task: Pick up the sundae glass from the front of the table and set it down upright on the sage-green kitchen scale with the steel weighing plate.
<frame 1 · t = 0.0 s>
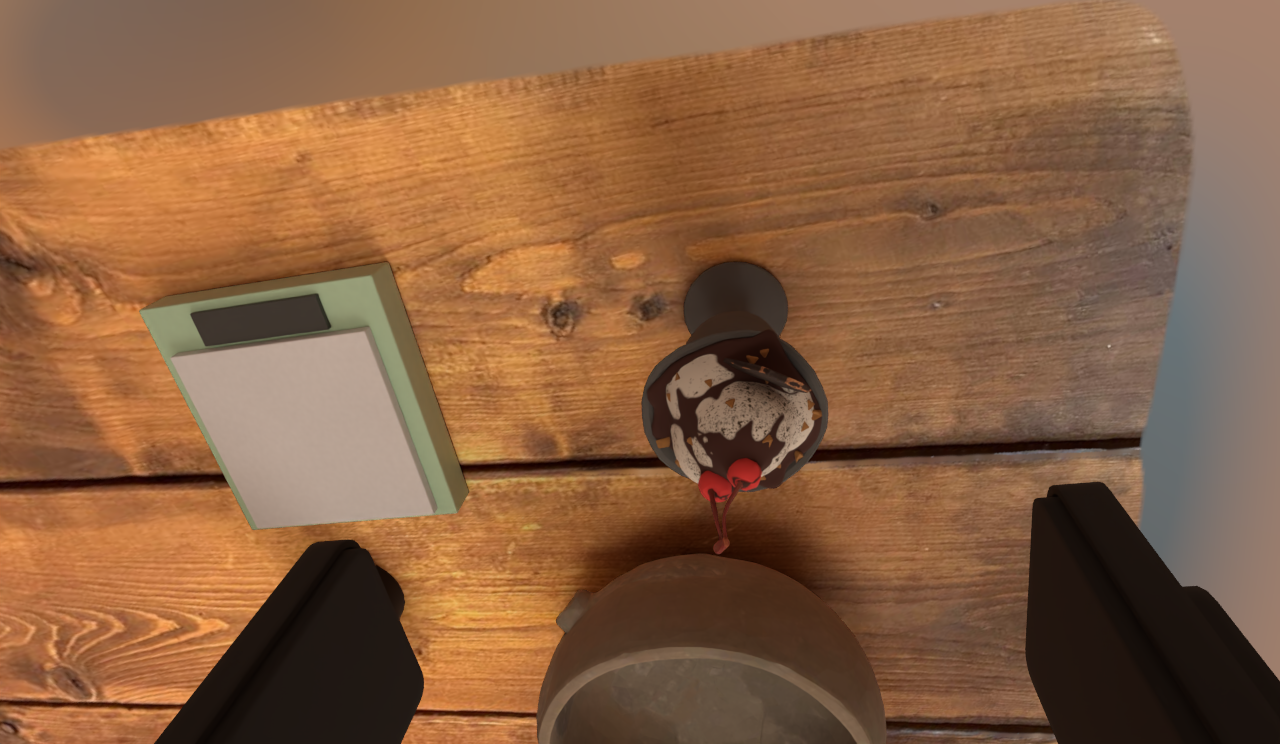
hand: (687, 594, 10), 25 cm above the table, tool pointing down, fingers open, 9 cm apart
scale: (323, 398, 41), on the table
bowl: (713, 620, 45), on the table
cup: (364, 591, 47), on the table
sundae: (735, 309, 36), on the table
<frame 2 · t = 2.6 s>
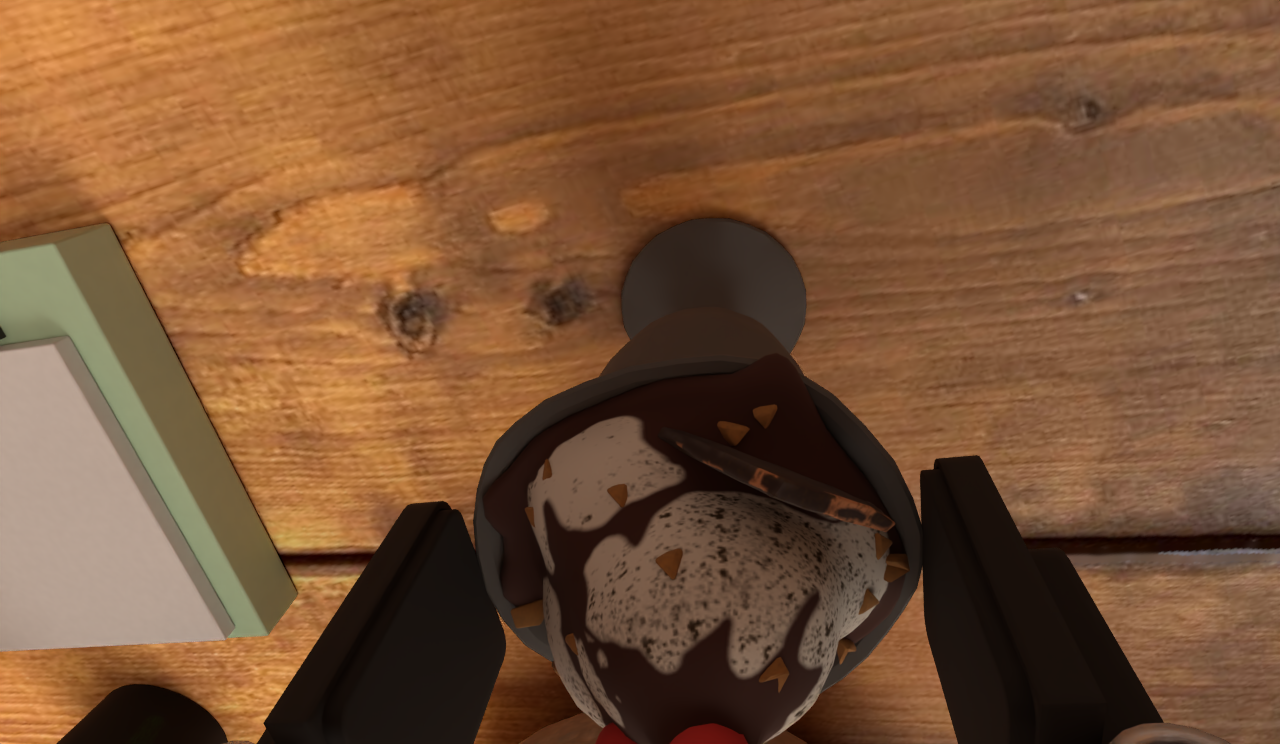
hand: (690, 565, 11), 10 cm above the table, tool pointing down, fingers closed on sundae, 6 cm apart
scale: (51, 450, 25), on the table
cup: (169, 725, 32), on the table
sundae: (713, 306, 20), on the table, touching gripper
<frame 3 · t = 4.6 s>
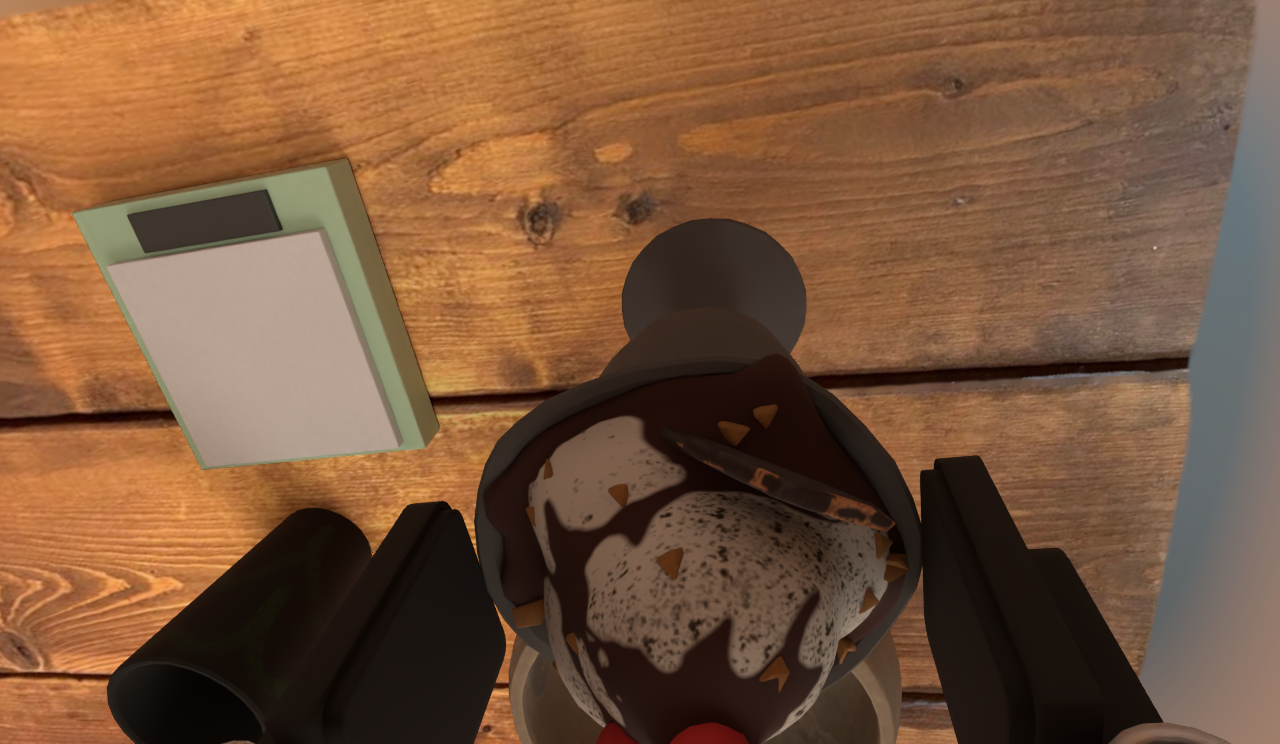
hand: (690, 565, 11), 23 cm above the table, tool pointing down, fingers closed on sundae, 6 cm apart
scale: (279, 320, 37), on the table
bowl: (708, 576, 41), on the table
cup: (327, 544, 43), on the table
sundae: (713, 306, 20), point 13 cm above the table, touching gripper
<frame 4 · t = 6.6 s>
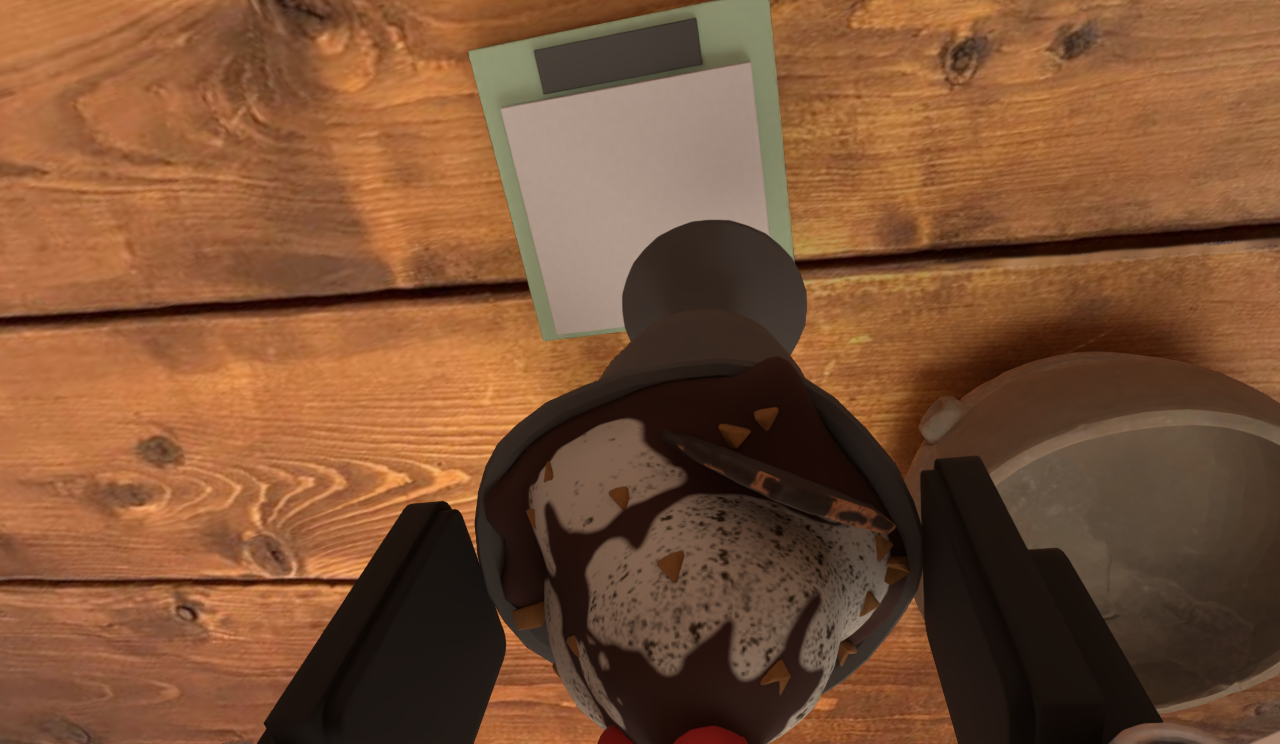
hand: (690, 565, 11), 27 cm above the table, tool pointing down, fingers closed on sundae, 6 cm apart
scale: (646, 178, 36), on the table
bowl: (1049, 454, 40), on the table
sundae: (714, 307, 20), point 17 cm above the table, touching gripper
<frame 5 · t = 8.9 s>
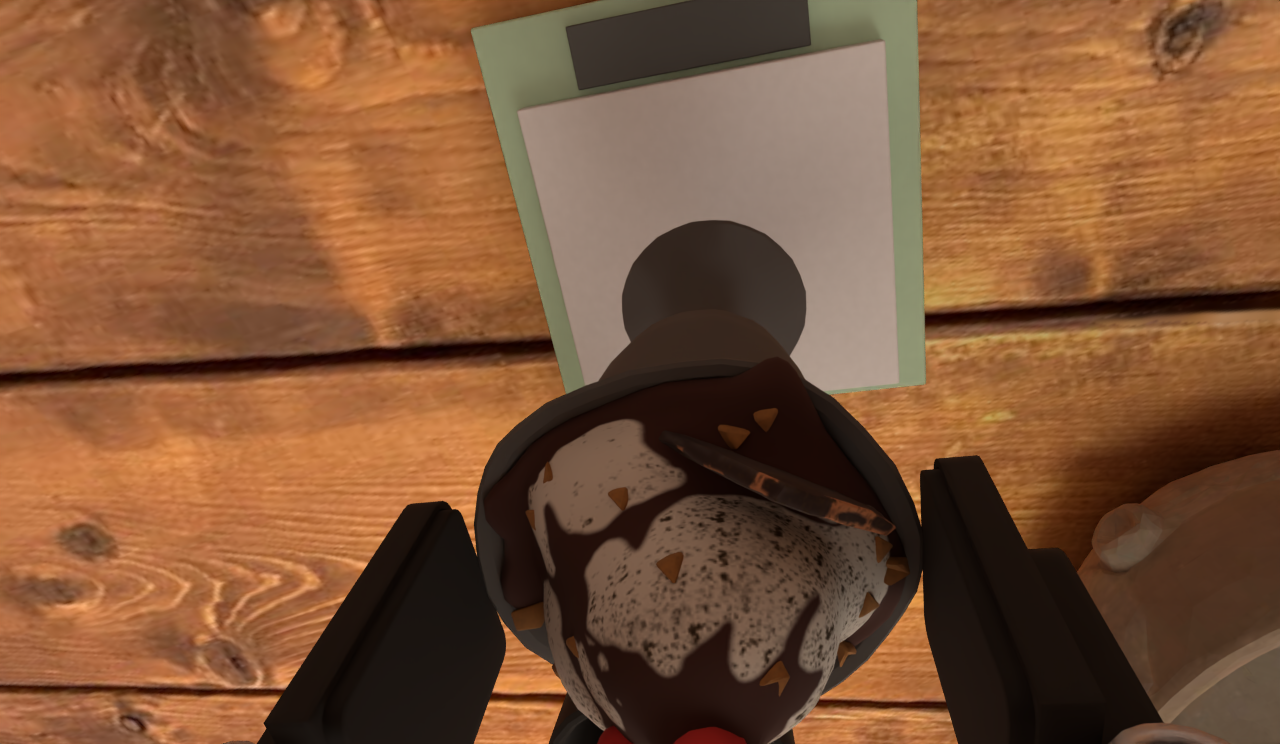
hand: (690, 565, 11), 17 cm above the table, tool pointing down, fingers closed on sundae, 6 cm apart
scale: (716, 204, 26), on the table
bowl: (1241, 562, 30), on the table
cup: (694, 524, 33), on the table
sundae: (713, 308, 20), point 7 cm above the table, touching gripper
when the fingers open (13 cm above the table, at t = 10.6 s): sundae stays where it is, resting on scale.
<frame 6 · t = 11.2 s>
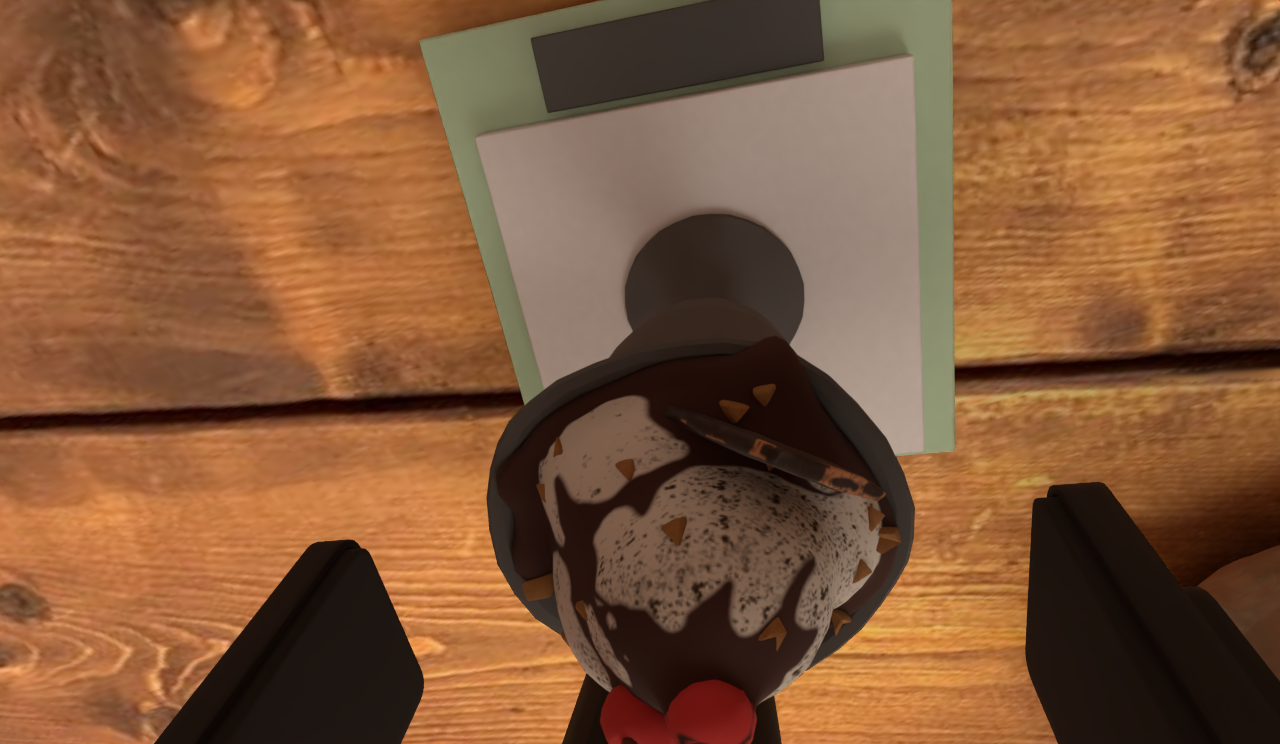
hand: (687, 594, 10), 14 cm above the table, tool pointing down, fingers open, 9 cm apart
scale: (711, 242, 22), on the table
cup: (687, 593, 29), on the table
sundae: (714, 300, 21), point 2 cm above the table, touching scale
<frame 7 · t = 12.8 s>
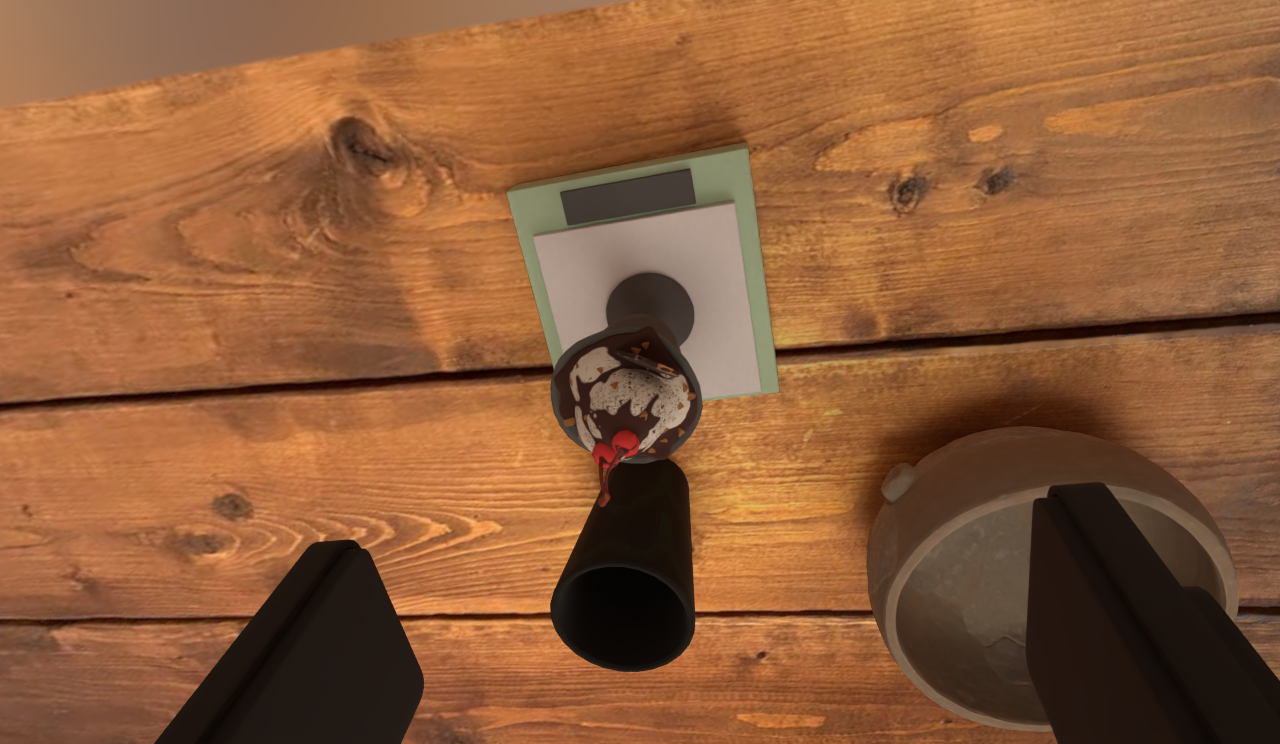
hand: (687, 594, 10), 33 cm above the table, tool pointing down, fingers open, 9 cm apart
scale: (651, 284, 43), on the table
bowl: (997, 506, 47), on the table
cup: (647, 486, 49), on the table
sundae: (651, 314, 41), point 2 cm above the table, touching scale
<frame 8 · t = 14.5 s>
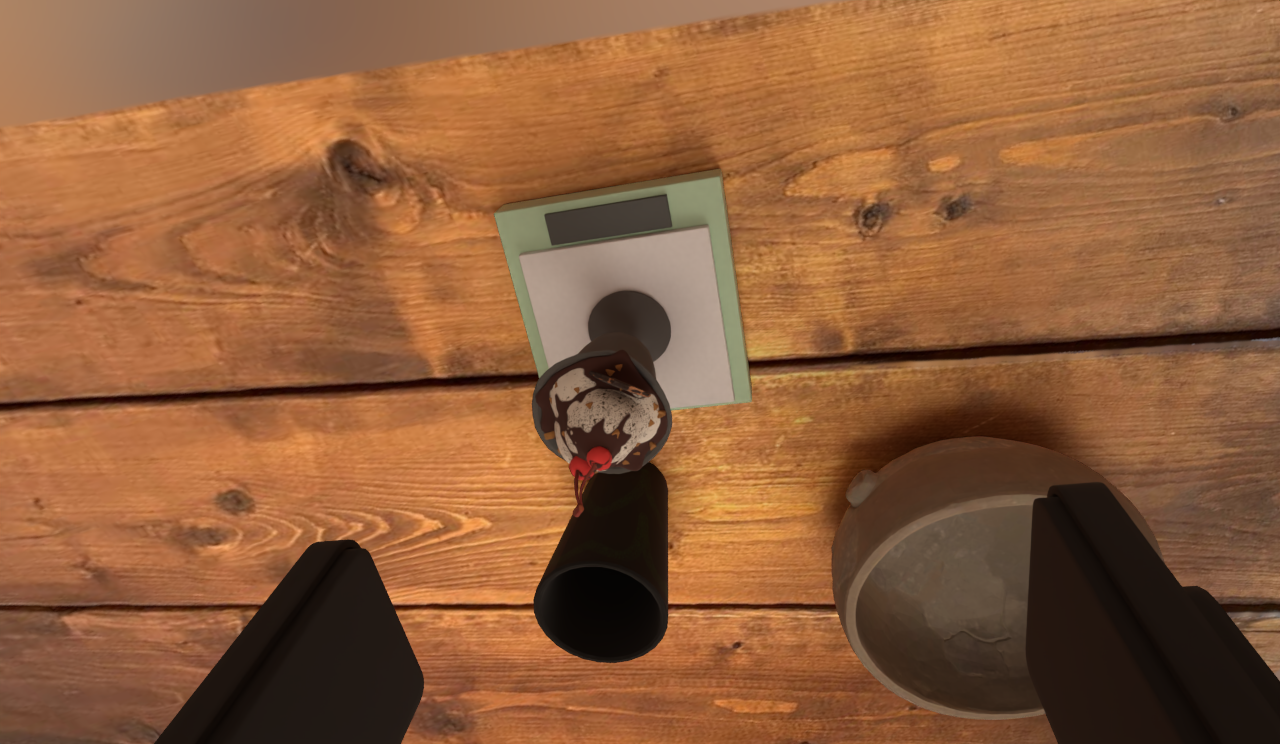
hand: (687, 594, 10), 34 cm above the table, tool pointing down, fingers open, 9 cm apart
scale: (632, 299, 45), on the table
bowl: (957, 508, 50), on the table
cup: (629, 487, 52), on the table
sundae: (630, 328, 44), point 2 cm above the table, touching scale
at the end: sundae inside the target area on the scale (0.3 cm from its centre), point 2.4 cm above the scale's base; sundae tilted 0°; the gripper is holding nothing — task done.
